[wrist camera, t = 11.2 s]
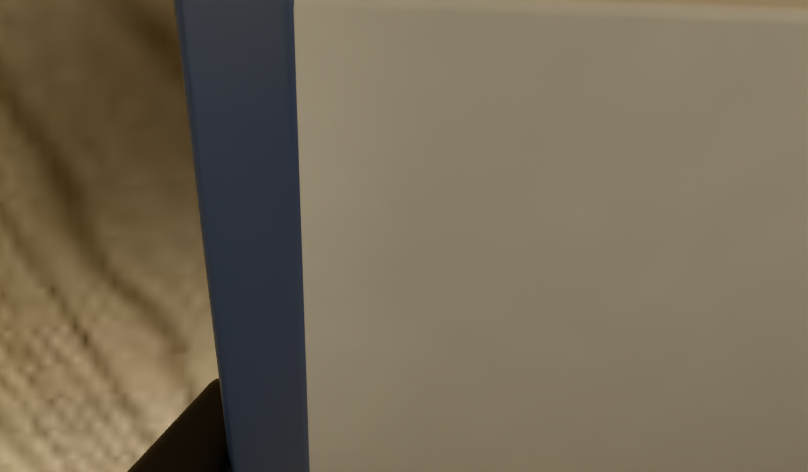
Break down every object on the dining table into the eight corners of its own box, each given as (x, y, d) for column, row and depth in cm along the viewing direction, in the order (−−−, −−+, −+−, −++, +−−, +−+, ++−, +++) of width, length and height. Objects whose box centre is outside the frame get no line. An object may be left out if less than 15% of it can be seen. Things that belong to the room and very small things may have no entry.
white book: (284, 561, 11) (263, 752, 9) (240, -82, 6) (168, -15, 4) (674, 559, 11) (746, 744, 9) (914, -53, 6) (1188, 25, 4)
